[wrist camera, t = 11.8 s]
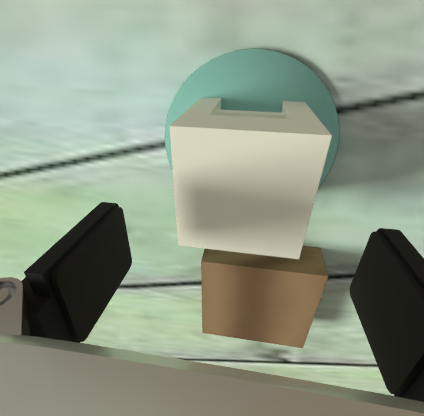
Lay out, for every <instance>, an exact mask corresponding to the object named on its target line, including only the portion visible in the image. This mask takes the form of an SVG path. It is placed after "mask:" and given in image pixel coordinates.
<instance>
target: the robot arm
mask: <svg viewBox="0 0 424 416" xmlns="http://www.w3.org/2000/svg"><path fill="white" fill-rule="evenodd" d="M131 263H132V258H131V252H130V247H129V241H128V236H127V230H126V225H125V219H124V214H123V209H122V208H121V207H119V206H118V204H116V203H107V202H102V203H100V204H99V205H98V206H97V207H95V208H94V209H93V210H92V211H91V212H90V213H89V214H88V215H87V216H86V217H84V218H83V219H82V220H81V221H80V222H79V223H78V224H77V225H76V226H74V227H73V228H72V229H71V230H70V231H69V232H68V233H67V234H66V235H64V236H63V237H62V238H61V239H60V240H59V241H58V242H57V243H56V244H55V245H53V246H52V247H51V248H50V249H49V250H48V251H47V252H46V253H45V254H43V255H42V256H41V257H40V258H39V259H38V260H37V261H36V262H35V263H33V264H32V265H31V266H30V267H29V268H28V269H27V270H26V271H25V272H24V273H25V276H26V277H25V278H24V279H23V280H22V281H20V280H19V279H17V278H12V277H8V278H0V416H424V259H423V257H422V256H421V255H420V254H419V253H418V251H417V250H416V249H415V248H414V247H413V245H412V244H411V243H410V242H409V241H408V239H407V238H406V237H405V236H404V235H403V233H402V232H401V231H400V230H394V229H383V228H380V229H378V230H377V231H376V232H372V233H371V235H370V238H369V240H368V243H367V245H366V248H365V250H364V253H363V255H362V258H361V260H360V263H359V265H358V268H357V270H356V273H355V275H354V278H353V280H352V283H351V286H350V295H351V298H352V301H353V303H354V306H355V308H356V311H357V314H358V316H359V319H360V321H361V324H362V326H363V329H364V331H365V334H366V336H367V339H368V342H369V344H370V347H371V349H372V352H373V354H374V357H375V359H376V362H377V364H378V367H379V370H380V372H381V375H382V377H383V380H384V382H385V385H386V387H387V389H388V391H389V392H390V393H391V394H394V396H390V395H385V394H379V393H374V392H368V391H363V390H357V389H351V388H345V387H340V386H334V385H328V384H322V383H317V382H311V381H305V380H299V379H294V378H288V377H282V376H276V375H271V374H265V373H259V372H253V371H247V370H241V369H235V368H229V367H223V366H217V365H212V364H206V363H200V362H194V361H188V360H182V359H176V358H170V357H164V356H158V355H152V354H145V353H139V352H133V351H127V350H121V349H115V348H109V347H102V346H96V345H90V344H84V343H80V342H83V341H84V340H85V339H86V338H87V337H88V335H89V334H90V332H91V330H92V329H93V327H94V325H95V324H96V322H97V321H98V319H99V317H100V316H101V314H102V313H103V311H104V309H105V308H106V306H107V304H108V303H109V301H110V300H111V298H112V296H113V295H114V293H115V291H116V290H117V288H118V287H119V285H120V283H121V282H122V280H123V279H124V277H125V275H126V274H127V272H128V270H129V269H130V267H131Z"/></svg>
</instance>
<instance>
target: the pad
mask: <svg viewBox="0 0 424 416" xmlns="http://www.w3.org/2000/svg"><path fill="white" fill-rule="evenodd" d="M201 97H205V98H221V110H239V111H260V112H280V113H281V112H282V105H283V101H297V102H305V103H306V104H307V105H308V107H309V108H310V109H311V110H312V112H313V113H314V114H315V115H316V116H317V118H318V119H319V120H320V121H321V123H322V124H323V125H324V126H325V128H326V129H327V130H328V131H329V133H330V134H331V135H332V137H331V141H330V145H329V148H328V152H327V156H326V160H325V163H324V167H323V171H322V175H321V178H320V182H319V186H320V184H321V183H322V182H323V181H324V179H325V177H326V176H327V174H328V173H329V171H330V169H331V166H332V164H333V162H334V159H335V156H336V152H337V148H338V142H339V122H338V114H337V111H336V107H335V104H334V101H333V99H332V97H331V95H330V93H329V91H328V89H327V88H326V86H325V85H324V83H323V82H322V80H321V79H320V78H319V77H318V76H317V75H316V74H315V73H314V72H313V71H312V70H311V69H309V68H308V67H307V66H306V65H304V64H303V63H301V62H300V61H298V60H296V59H294V58H292V57H291V56H288V55H285V54H282V53H280V52H276V51H271V50H266V49H245V50H237V51H234V52H230V53H226V54H223V55H221V56H219V57H216V58H214V59H212V60H210V61H209V62H207V63H206V64H204V65H202V66H201V67H200V68H199V69H197V70H196V71H195V72H194V73H193V74H191V76H190V77H189V78H188V79H187V80H186V81H185V82H184V83H183V85H182V86H181V88H180V89H179V91H178V92H177V94H176V96H175V98H174V100H173V102H172V104H171V107H170V109H169V112H168V116H167V121H166V127H165V145H166V152H167V157H168V160H169V163H170V166H171V168H172V154H171V140H170V125H171V124H172V123H173V122H175V121H176V120H177V119H178V118H179V117H180V116H181V115H182V114H183V113H185V112H186V111H187V110H188V109H189V108H190V107H191V106H192V105H193V104H195V103H196V102H197V101H198V100H199V99H200V98H201ZM172 170H173V168H172ZM319 186H318V187H319Z"/></svg>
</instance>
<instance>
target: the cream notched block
mask: <svg viewBox="0 0 424 416" xmlns="http://www.w3.org/2000/svg"><path fill="white" fill-rule="evenodd" d="M331 137H332V135H331V134H330V133H329V131H328V130H327V129H326V128H325V126H324V125H323V124H322V123H321V121H320V120H319V119H318V118H317V116H316V115H315V114H314V113H313V112H312V110H311V109H310V108H309V107H308V105H307V104H306V103H305V102H297V101H283V105H282V112H281V113H280V112H260V111H239V110H221V98H205V97H201V98H200V99H199V100H198V101H197V102H196V103H195V104H193V105H192V106H191V107H190V108H189V109H188V110H187V111H186V112H185V113H183V114H182V115H181V116H180V117H179V118H178V119H177V120H176V121H175V122H173V123H172V124H171V125H170V140H171V154H172V168H173V182H174V196H175V210H176V224H177V238H178V245H180V246H188V247H197V248H206V249H214V250H223V251H231V252H240V253H249V254H257V255H266V256H275V257H283V258H292V259H299V257H300V254H301V250H302V246H303V242H304V238H305V235H306V231H307V227H308V223H309V220H310V216H311V212H312V208H313V205H314V201H315V197H316V193H317V190H318V186H319V182H320V178H321V175H322V171H323V167H324V163H325V160H326V156H327V152H328V148H329V145H330V141H331Z"/></svg>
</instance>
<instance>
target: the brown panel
mask: <svg viewBox="0 0 424 416" xmlns="http://www.w3.org/2000/svg"><path fill="white" fill-rule="evenodd" d="M201 270H202V330H203V333H207V334H214V335H221V336H227V337H234V338H240V339H247V340H253V341H260V342H266V343H273V344H279V345H286V346H293V347H299V348H303V346H304V343H305V340H306V338H307V335H308V332H309V329H310V326H311V324H312V321H313V318H314V315H315V312H316V310H317V307H318V304H319V301H320V299H321V296H322V293H323V290H324V287H325V285H326V282H327V279H328V273H327V270H326V267H325V263H324V260H323V257H322V253H321V250H320V248H314V247H305V246H302V250H301V254H300V257H299V259H292V258H283V257H275V256H266V255H257V254H249V253H240V252H231V251H223V250H214V249H206V248H205V250H204V253H203V257H202V261H201Z"/></svg>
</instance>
